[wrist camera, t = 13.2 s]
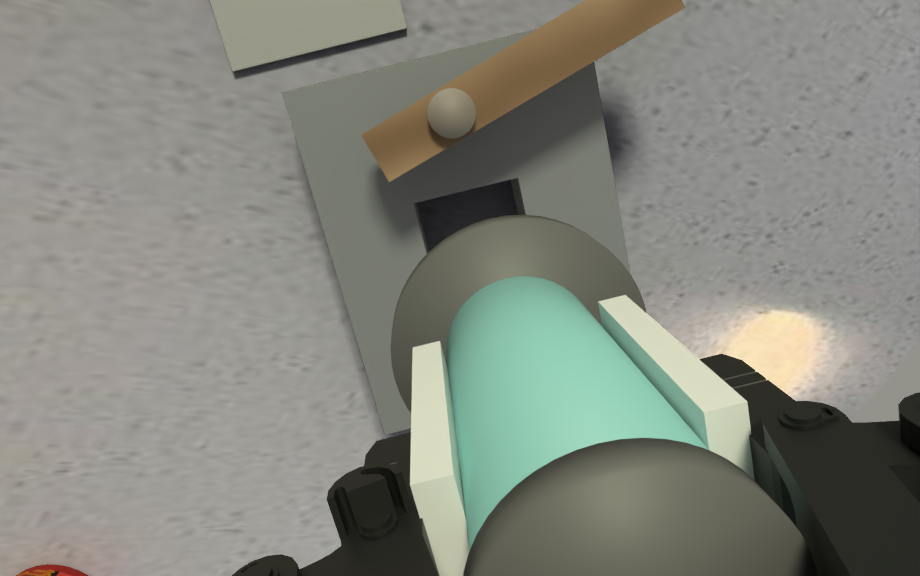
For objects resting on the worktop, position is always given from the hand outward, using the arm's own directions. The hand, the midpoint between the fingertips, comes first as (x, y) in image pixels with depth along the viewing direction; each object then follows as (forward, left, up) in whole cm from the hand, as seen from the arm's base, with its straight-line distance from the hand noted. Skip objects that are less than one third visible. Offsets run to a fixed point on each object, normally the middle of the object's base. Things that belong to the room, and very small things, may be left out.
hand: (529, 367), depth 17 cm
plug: (0, 0, -7) cm, 7 cm away
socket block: (0, 0, -23) cm, 23 cm away
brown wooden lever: (+4, +8, -18) cm, 20 cm away
